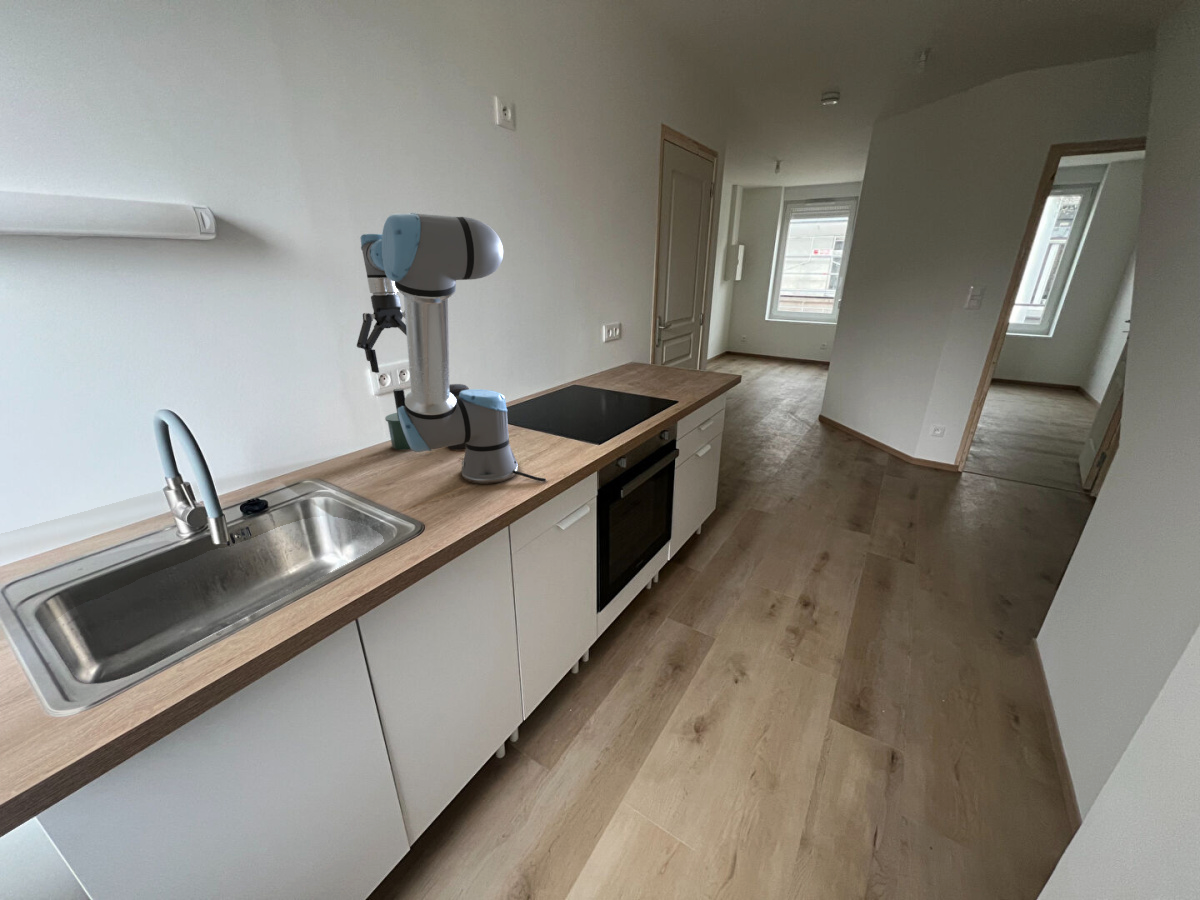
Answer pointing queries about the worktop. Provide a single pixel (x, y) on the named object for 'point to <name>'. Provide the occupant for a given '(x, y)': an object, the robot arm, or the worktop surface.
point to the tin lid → (397, 405)
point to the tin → (397, 436)
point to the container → (455, 390)
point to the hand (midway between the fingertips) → (397, 368)
